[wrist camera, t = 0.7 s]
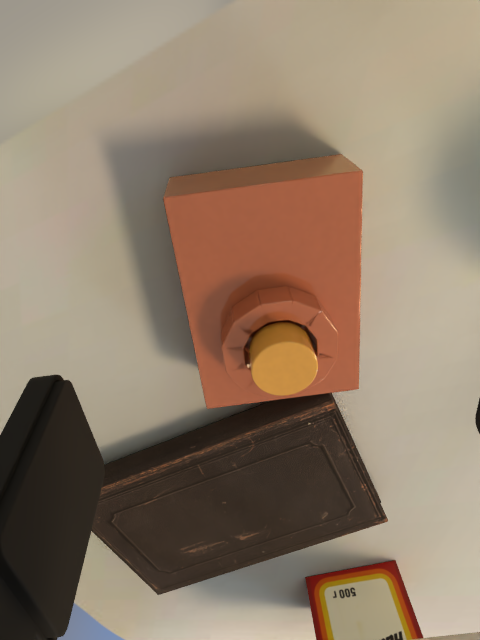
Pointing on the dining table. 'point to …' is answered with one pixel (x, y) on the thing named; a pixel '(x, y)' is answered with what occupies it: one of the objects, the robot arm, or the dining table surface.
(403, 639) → the baking soda box
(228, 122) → the dining table surface
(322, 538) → the hardcover book
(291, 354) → the yellow push button
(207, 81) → the dining table surface
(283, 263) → the push button box
